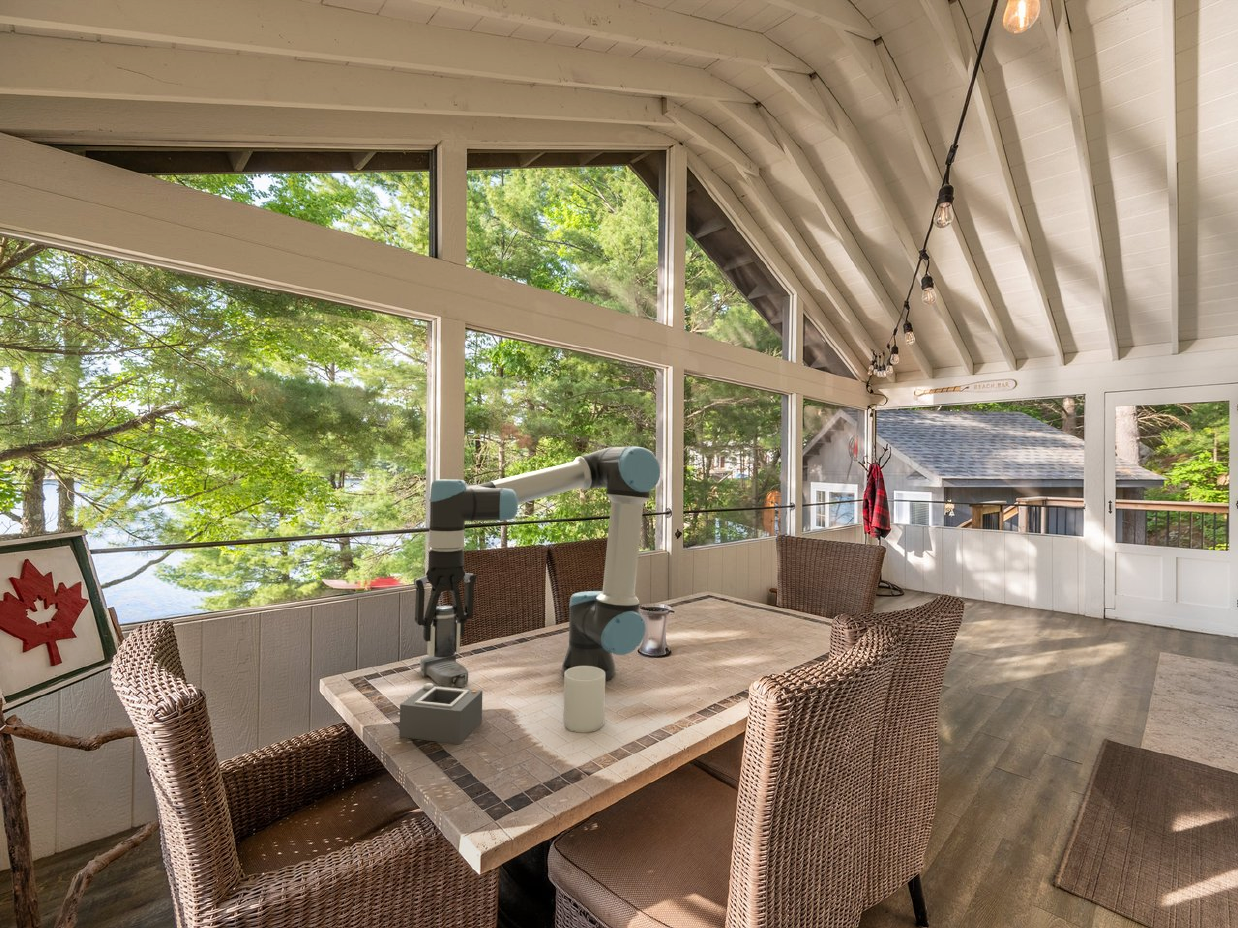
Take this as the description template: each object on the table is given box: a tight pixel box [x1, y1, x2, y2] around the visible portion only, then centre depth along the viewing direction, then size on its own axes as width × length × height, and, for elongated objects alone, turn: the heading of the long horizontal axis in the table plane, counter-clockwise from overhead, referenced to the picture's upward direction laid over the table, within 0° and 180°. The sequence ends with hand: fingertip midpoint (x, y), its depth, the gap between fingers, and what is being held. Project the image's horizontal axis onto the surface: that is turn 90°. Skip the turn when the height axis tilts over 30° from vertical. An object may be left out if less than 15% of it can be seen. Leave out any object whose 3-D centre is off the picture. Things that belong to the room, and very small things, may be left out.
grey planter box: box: [398, 682, 483, 745], centre depth 126 cm, size 14×11×8 cm
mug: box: [562, 666, 606, 734], centre depth 130 cm, size 10×12×12 cm
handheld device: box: [419, 654, 469, 688], centre depth 154 cm, size 10×20×5 cm, turn 42°
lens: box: [432, 605, 457, 658], centre depth 126 cm, size 5×5×10 cm
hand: (443, 652), depth 126 cm, fingers closed on lens, 5 cm apart
